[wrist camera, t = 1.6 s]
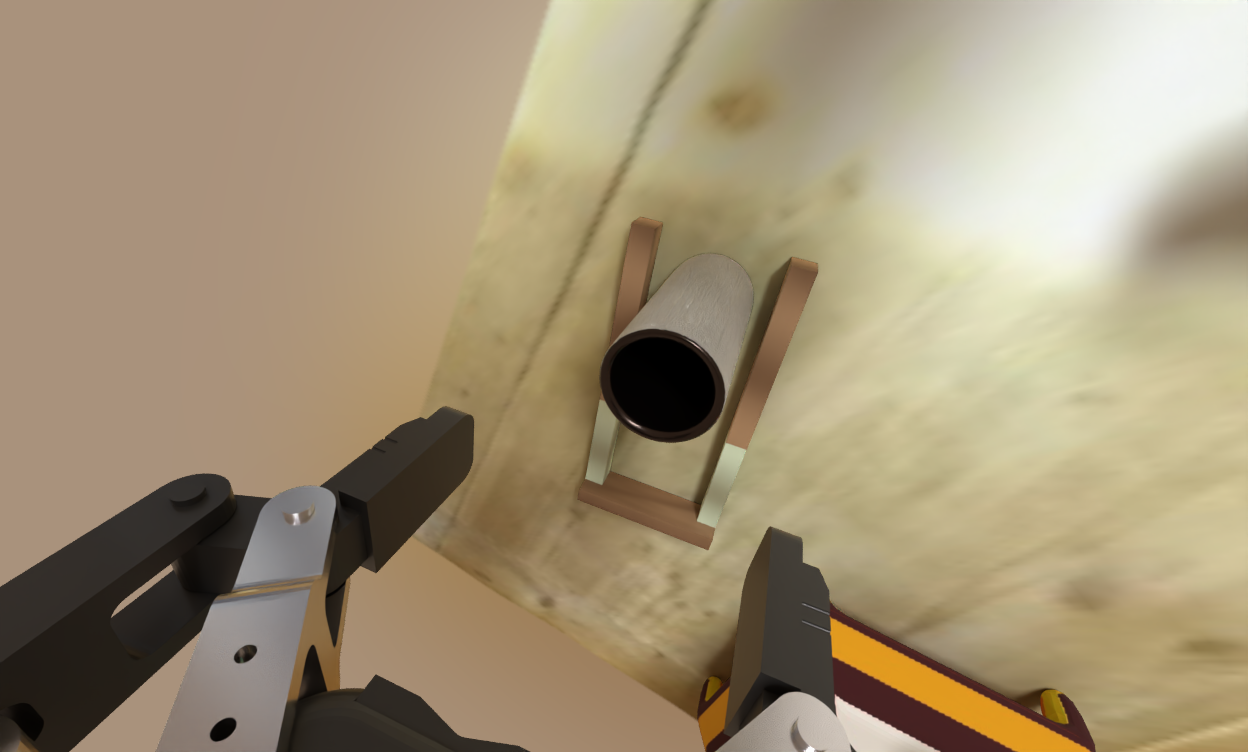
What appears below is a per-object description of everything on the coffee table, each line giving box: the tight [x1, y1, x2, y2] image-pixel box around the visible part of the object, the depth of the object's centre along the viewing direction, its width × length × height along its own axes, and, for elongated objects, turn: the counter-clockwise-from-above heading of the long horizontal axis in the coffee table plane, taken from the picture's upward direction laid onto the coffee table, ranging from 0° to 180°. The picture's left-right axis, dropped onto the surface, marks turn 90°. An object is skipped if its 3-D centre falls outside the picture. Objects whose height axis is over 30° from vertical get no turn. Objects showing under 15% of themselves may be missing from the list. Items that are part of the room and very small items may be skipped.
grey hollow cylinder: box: [600, 253, 754, 443], centre depth 21 cm, size 4×4×10 cm
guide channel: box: [578, 217, 818, 550], centre depth 27 cm, size 18×9×2 cm, turn 169°
